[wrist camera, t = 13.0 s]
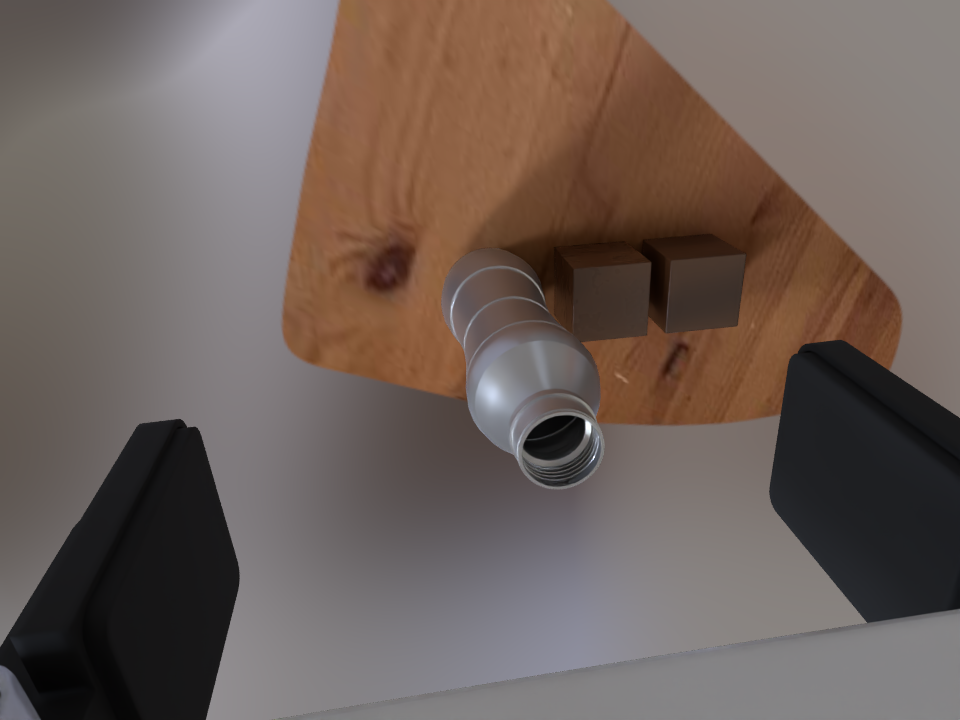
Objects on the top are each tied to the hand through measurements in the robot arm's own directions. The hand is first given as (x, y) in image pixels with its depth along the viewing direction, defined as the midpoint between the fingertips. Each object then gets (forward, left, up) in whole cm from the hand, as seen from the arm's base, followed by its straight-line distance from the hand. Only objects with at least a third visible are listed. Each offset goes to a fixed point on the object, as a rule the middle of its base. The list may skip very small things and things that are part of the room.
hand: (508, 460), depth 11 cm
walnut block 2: (+9, +17, -34) cm, 39 cm away
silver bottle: (+9, +4, -34) cm, 35 cm away
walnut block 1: (+9, +11, -34) cm, 36 cm away
